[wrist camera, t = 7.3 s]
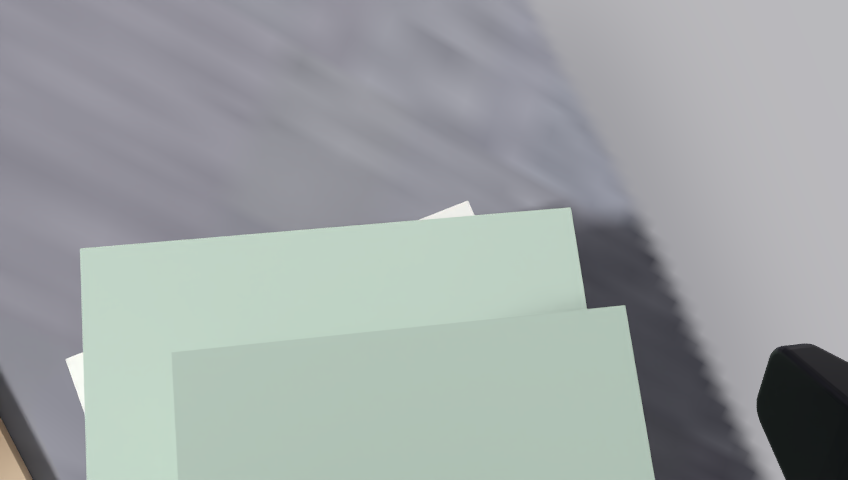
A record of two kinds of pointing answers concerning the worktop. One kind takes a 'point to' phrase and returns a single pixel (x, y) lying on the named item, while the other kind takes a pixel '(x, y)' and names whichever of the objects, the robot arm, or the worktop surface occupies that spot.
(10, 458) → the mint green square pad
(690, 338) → the worktop surface
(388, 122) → the worktop surface
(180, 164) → the worktop surface
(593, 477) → the mint green stamp
